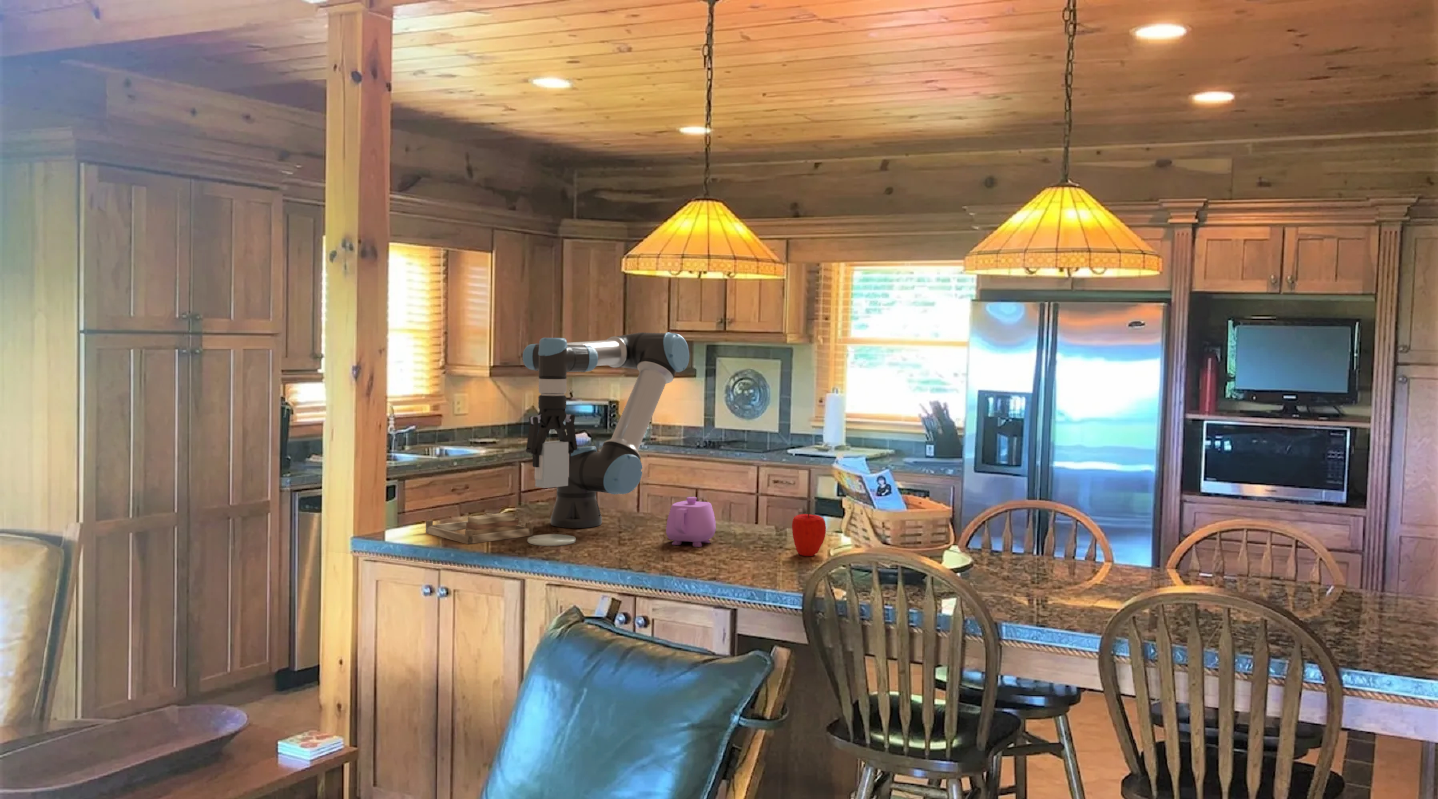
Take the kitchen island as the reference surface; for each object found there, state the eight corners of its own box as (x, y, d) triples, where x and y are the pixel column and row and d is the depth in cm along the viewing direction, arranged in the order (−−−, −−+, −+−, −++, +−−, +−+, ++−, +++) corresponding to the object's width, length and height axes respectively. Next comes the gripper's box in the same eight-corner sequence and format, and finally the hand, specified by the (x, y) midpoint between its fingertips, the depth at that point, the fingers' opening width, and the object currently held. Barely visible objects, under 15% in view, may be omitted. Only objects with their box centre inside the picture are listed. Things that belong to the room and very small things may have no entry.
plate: (556, 535, 324) (556, 532, 324) (585, 541, 314) (585, 539, 314) (518, 540, 315) (518, 537, 315) (546, 547, 305) (546, 544, 305)
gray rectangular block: (559, 484, 318) (559, 440, 317) (568, 485, 315) (568, 442, 314) (535, 486, 312) (535, 442, 311) (544, 488, 309) (544, 443, 309)
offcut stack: (509, 533, 326) (509, 512, 326) (519, 535, 323) (519, 514, 322) (465, 538, 316) (465, 517, 316) (475, 541, 313) (475, 519, 312)
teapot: (699, 551, 304) (700, 503, 303) (656, 547, 308) (656, 500, 307) (724, 538, 323) (725, 493, 322) (683, 535, 327) (684, 491, 326)
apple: (832, 555, 301) (832, 514, 300) (809, 559, 295) (810, 517, 294) (806, 550, 307) (807, 510, 306) (784, 554, 301) (785, 513, 300)
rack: (489, 524, 339) (489, 513, 339) (532, 535, 323) (532, 522, 323) (425, 532, 325) (425, 520, 324) (467, 544, 309) (467, 531, 309)
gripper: (574, 392, 322) (574, 473, 323) (512, 394, 308) (511, 479, 309) (591, 394, 317) (590, 476, 318) (528, 396, 302) (527, 482, 303)
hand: (551, 477), depth 313 cm, fingers closed on gray rectangular block, 8 cm apart
